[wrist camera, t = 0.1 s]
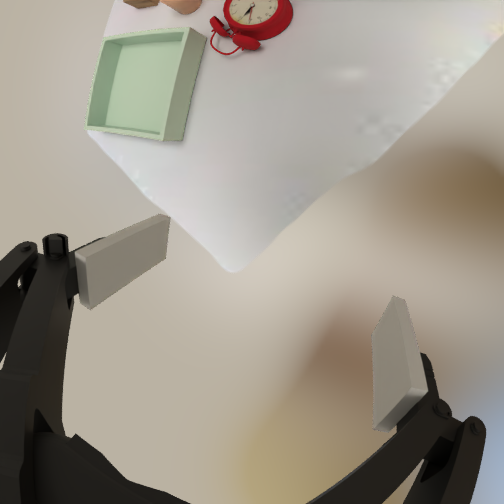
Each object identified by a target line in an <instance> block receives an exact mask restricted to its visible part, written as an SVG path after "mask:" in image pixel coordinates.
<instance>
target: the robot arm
mask: <svg viewBox="0 0 504 504" xmlns="http://www.w3.org/2000/svg"><path fill="white" fill-rule="evenodd" d="M170 218H171V217H168V216H166V215H163V214H158V215H156V216H153V217H151V218H148V219H146V220H144V221H141V222H139V223H136V224H134V225H132V226H130V227H127V228H125V229H123V230H121V231H118V232H116V233H114V234H111V235H109V236H107V237H103V238H99V239H97V240H94V241H92V243H91V242H90V243H88V244H87V245H83V246H81V247H79V248H77V249H75V250H73V251H71V252H69V249H68V237H67V236H66V235H64V234H58V233H57V234H50V235H47V236H45V237H44V238H43V239H42V241H43V250H44V255H43V254H40V253H38V250H37V244H36V243H34V242H29V241H27V242H23V243H20V244H18V245H17V246H16V247H15V248H14V249H12V250H11V251H10V252H9V253H8V254H7V255H6V256H5V257H4V258H3V259H2V260H1V261H0V362H1V361H2V359H3V357H4V355H5V353H6V352H7V353H6V357H5V360H4V364H3V368H2V369H1V370H0V504H190V503H188V502H186V501H183V500H181V499H179V498H177V497H175V496H173V495H171V494H169V493H167V492H164V491H160V490H157V489H153V488H150V487H147V486H144V485H140V484H137V483H134V482H132V481H129V480H127V479H126V478H125V477H124V476H123V475H122V474H121V473H120V472H119V471H118V470H117V469H116V468H115V467H114V466H113V465H112V464H111V463H110V462H109V461H108V460H107V459H106V458H105V456H103V454H102V453H101V452H99V451H98V450H97V449H95V448H94V447H92V446H91V445H90V444H88V443H87V442H86V441H85V440H83V439H82V438H81V437H79V436H78V435H77V434H75V435H74V436H73V437H72V438H70V437H67V436H65V431H64V427H63V423H62V396H63V395H62V394H63V380H64V368H65V359H66V349H67V343H68V336H69V329H70V323H71V317H72V311H73V306H74V295H76V294H78V293H79V299H80V303H81V304H82V305H84V306H85V307H87V308H88V309H90V310H91V309H93V308H94V307H96V306H97V305H98V304H100V303H101V302H103V301H104V300H106V299H107V298H108V297H110V296H111V295H113V294H114V293H116V292H117V291H118V290H120V289H121V288H123V287H124V286H126V285H127V284H129V283H130V282H132V281H133V280H134V279H136V278H137V277H139V276H140V275H142V274H143V273H145V272H146V271H148V270H149V269H151V268H152V267H154V266H155V265H157V264H158V263H160V262H161V261H163V260H164V259H166V252H167V242H168V234H169V225H170ZM19 278H20V283H21V285H20V286H19V287H18V285H17V284H18V280H19ZM371 336H372V353H373V385H374V386H373V396H374V397H373V402H374V403H373V429H374V430H378V431H383V432H389V431H390V430H391V429H393V427H395V426H396V425H397V433H396V434H395V435H393V437H392V438H390V439H389V440H388V441H387V442H386V443H384V444H383V445H382V447H381V448H379V449H378V450H377V451H376V452H375V453H374V454H373V455H372V456H371V457H369V458H368V459H367V460H366V461H365V462H363V463H362V464H361V465H360V466H358V467H357V468H356V469H355V470H353V471H352V472H351V473H350V474H348V475H347V476H346V477H344V478H343V479H342V480H340V481H339V482H338V483H336V484H335V485H334V486H332V487H331V488H329V489H328V490H326V491H325V492H323V493H322V494H320V495H319V496H317V497H316V498H314V499H313V500H311V501H309V502H308V503H306V504H382V503H383V502H384V501H385V500H386V499H387V498H388V497H389V496H390V495H391V494H392V493H393V492H394V491H395V490H396V489H397V488H398V487H399V486H400V484H401V483H402V482H403V481H404V480H405V479H406V478H407V477H408V476H409V475H410V473H411V472H412V471H413V470H414V469H415V468H416V466H417V465H418V464H419V463H420V461H421V460H422V459H424V462H423V464H422V466H421V468H420V471H419V473H418V475H417V477H416V479H415V481H414V483H413V485H412V487H411V489H410V491H409V493H408V495H407V497H406V498H405V500H404V502H403V504H470V502H471V499H472V495H473V492H474V488H475V485H476V481H477V478H478V474H479V469H480V465H481V460H482V456H483V450H484V445H485V438H486V428H485V425H484V423H483V422H482V421H481V420H480V419H479V418H477V417H475V416H470V417H468V418H467V419H466V420H465V421H464V422H461V421H459V420H457V419H455V418H453V417H452V411H451V409H450V407H449V405H448V404H447V403H446V402H445V401H443V400H442V399H440V398H439V394H438V390H437V386H436V381H435V379H434V372H433V369H432V365H431V362H430V360H429V359H428V357H427V356H426V354H423V353H420V351H419V347H418V343H417V340H416V336H415V332H414V329H413V325H412V322H411V319H410V315H409V312H408V308H407V305H406V302H405V300H404V299H401V298H398V297H395V296H393V297H392V299H391V301H390V303H389V304H388V306H387V308H386V310H385V312H384V314H383V316H382V318H381V319H380V321H379V323H378V325H377V326H376V328H375V330H374V332H373V334H372V335H371Z"/></svg>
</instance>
